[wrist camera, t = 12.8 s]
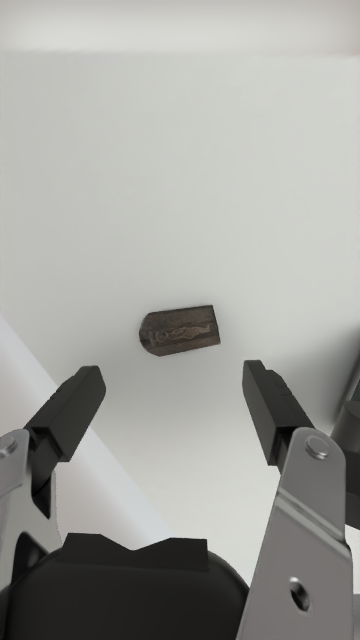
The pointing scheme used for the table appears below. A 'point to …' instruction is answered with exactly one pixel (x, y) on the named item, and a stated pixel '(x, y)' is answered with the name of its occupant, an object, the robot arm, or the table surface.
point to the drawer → (349, 424)
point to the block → (179, 330)
